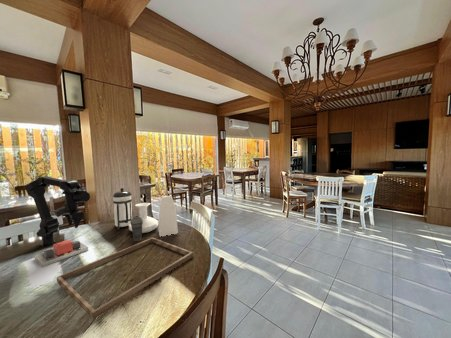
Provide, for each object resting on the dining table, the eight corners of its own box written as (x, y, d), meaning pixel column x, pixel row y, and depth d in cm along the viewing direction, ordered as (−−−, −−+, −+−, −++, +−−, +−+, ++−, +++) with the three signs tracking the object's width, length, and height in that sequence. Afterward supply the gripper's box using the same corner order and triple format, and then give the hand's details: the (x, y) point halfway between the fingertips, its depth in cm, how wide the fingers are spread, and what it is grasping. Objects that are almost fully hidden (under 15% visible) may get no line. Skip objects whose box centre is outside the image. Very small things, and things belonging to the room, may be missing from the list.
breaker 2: (72, 247, 112) (71, 242, 112) (78, 245, 114) (77, 240, 114) (74, 248, 110) (73, 243, 110) (80, 246, 113) (80, 241, 112)
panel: (34, 259, 104) (34, 254, 103) (79, 244, 120) (78, 240, 120) (42, 266, 96) (41, 262, 96) (88, 250, 113) (87, 246, 113)
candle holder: (149, 236, 131) (148, 208, 130) (122, 234, 134) (121, 207, 133) (163, 225, 151) (162, 201, 150) (139, 224, 154) (138, 200, 153)
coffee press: (106, 229, 144) (104, 189, 141) (121, 222, 159) (120, 186, 157) (128, 231, 141) (126, 190, 138) (141, 223, 156) (139, 186, 154)
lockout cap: (53, 252, 106) (52, 244, 106) (68, 247, 112) (67, 239, 112) (57, 255, 103) (57, 246, 103) (72, 250, 108) (72, 242, 108)
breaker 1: (44, 256, 102) (44, 251, 102) (51, 254, 104) (51, 248, 104) (46, 258, 100) (45, 252, 100) (53, 255, 103) (53, 250, 102)
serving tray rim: (57, 282, 84) (56, 276, 84) (152, 241, 124) (152, 237, 124) (93, 320, 65) (92, 313, 65) (193, 256, 105) (192, 252, 104)
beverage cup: (138, 242, 122) (137, 211, 121) (128, 241, 124) (127, 210, 122) (145, 237, 129) (144, 208, 128) (136, 236, 131) (134, 207, 129)
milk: (175, 228, 146) (174, 194, 144) (177, 233, 136) (176, 197, 134) (158, 230, 141) (157, 195, 139) (159, 236, 131) (158, 198, 129)
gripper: (49, 202, 116) (50, 227, 117) (60, 206, 105) (62, 234, 106) (71, 198, 125) (73, 222, 126) (84, 202, 114) (85, 227, 116)
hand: (73, 226), depth 118 cm, fingers open, 9 cm apart
